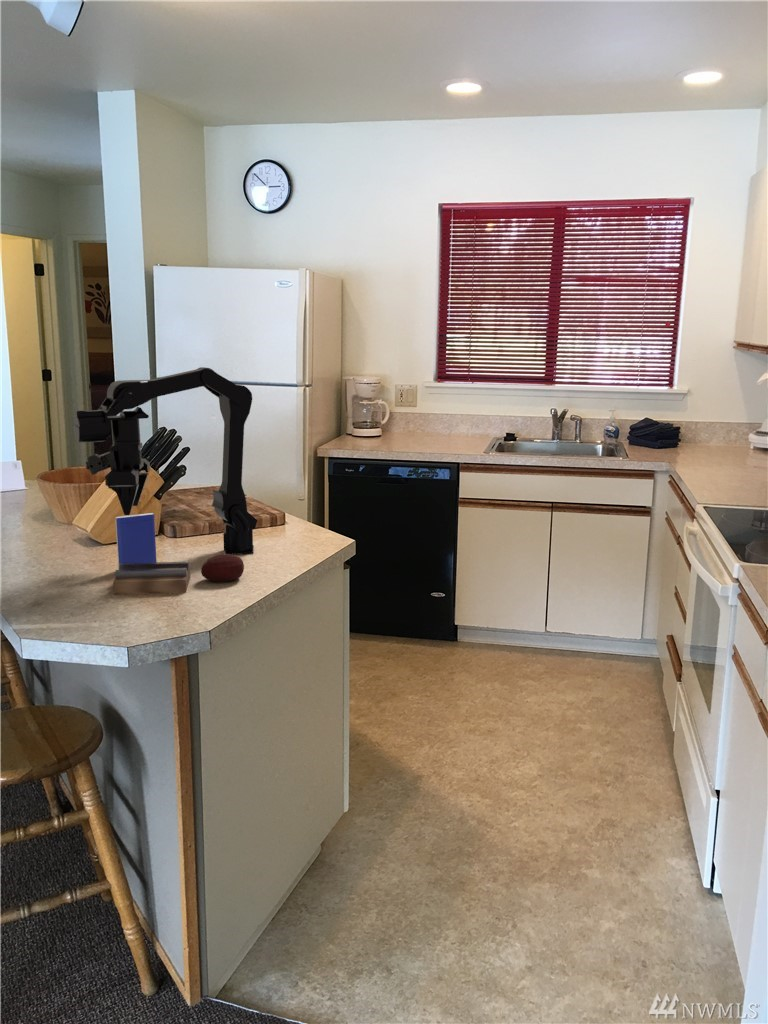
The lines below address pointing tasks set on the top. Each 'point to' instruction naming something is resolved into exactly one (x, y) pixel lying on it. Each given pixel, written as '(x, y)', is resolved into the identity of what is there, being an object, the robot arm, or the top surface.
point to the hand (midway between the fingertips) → (131, 510)
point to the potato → (222, 568)
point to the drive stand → (152, 578)
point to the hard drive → (136, 539)
